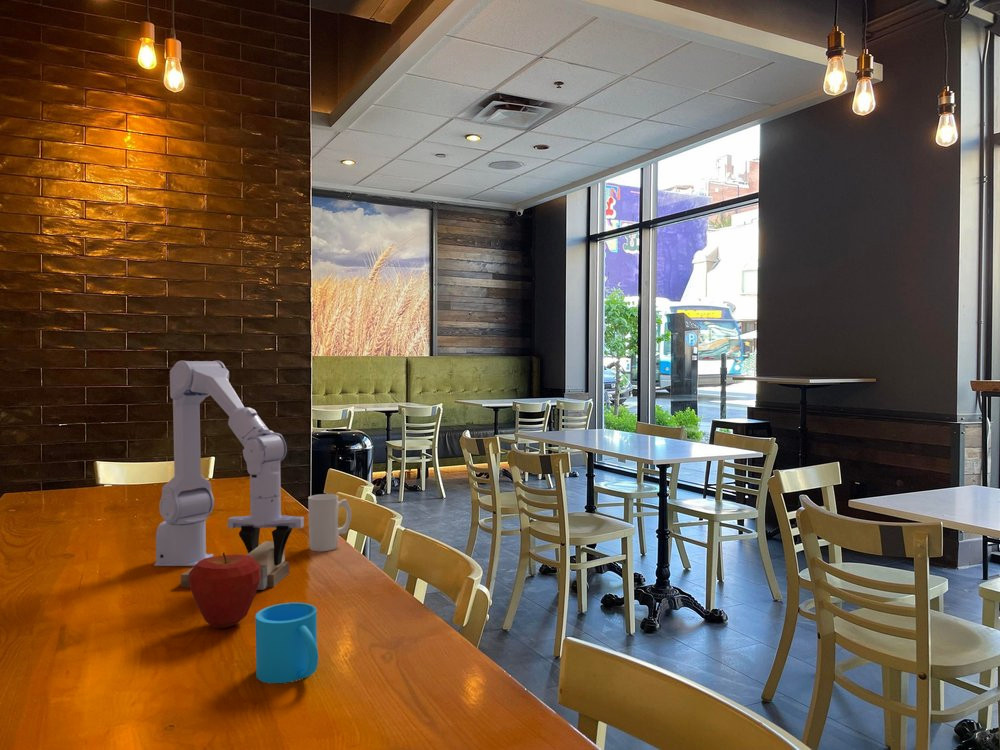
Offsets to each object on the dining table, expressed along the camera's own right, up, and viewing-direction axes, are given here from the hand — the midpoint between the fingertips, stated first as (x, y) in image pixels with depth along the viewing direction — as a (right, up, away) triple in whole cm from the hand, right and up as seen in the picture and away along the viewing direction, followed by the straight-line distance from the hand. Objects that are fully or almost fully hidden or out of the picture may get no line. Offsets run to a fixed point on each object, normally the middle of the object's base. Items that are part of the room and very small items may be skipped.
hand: (266, 564), depth 139 cm
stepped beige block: (0, -3, -1) cm, 3 cm away
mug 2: (+7, -3, +25) cm, 26 cm away
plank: (-6, -3, 0) cm, 7 cm away
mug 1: (+18, -4, -42) cm, 46 cm away
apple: (+1, -4, -24) cm, 24 cm away
